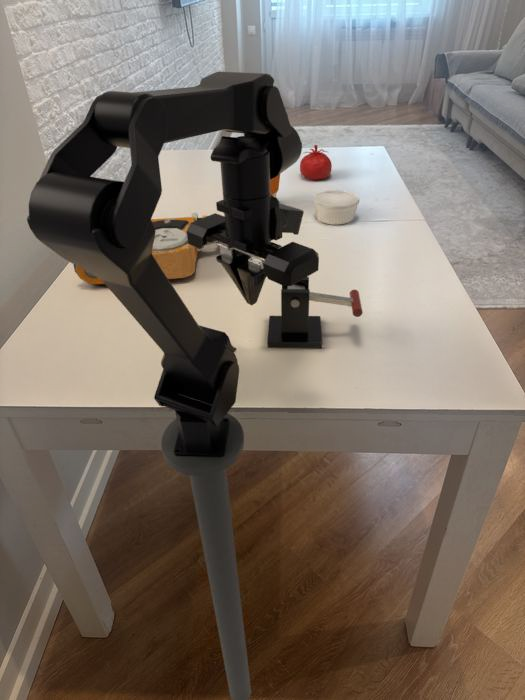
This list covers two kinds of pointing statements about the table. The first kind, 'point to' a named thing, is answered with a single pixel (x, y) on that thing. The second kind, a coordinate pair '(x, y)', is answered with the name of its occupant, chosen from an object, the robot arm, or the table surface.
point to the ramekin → (335, 206)
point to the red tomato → (315, 165)
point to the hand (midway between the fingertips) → (252, 303)
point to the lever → (336, 299)
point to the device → (166, 249)
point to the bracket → (295, 321)
